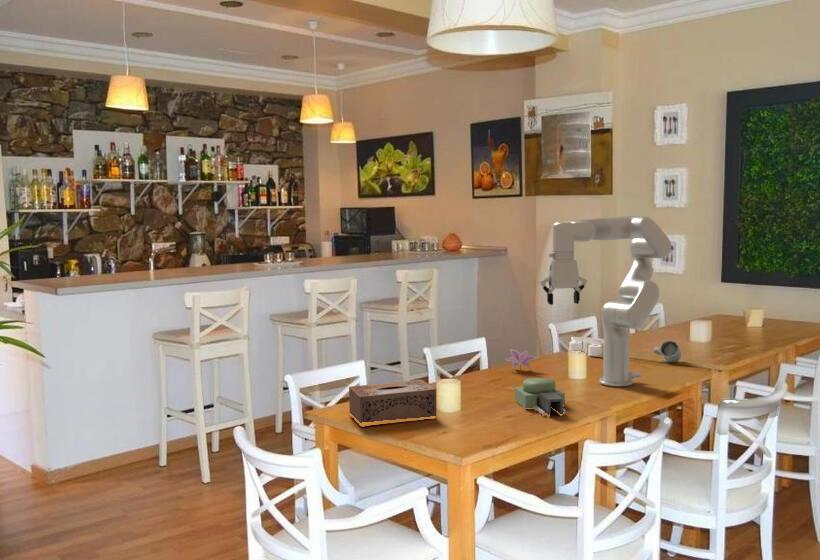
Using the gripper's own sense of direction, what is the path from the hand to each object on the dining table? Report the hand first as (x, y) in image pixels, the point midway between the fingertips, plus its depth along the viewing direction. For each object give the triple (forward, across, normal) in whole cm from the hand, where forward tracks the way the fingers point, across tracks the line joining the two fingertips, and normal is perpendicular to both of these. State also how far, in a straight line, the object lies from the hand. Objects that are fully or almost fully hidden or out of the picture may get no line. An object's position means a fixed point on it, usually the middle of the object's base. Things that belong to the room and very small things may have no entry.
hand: (563, 303), depth 273 cm
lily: (+34, -4, +38) cm, 51 cm away
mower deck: (+33, -13, -11) cm, 37 cm away
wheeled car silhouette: (+34, +37, +64) cm, 81 cm away
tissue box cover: (+34, -65, -14) cm, 75 cm away
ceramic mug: (+34, +62, +40) cm, 81 cm away
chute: (+33, -13, -22) cm, 42 cm away
